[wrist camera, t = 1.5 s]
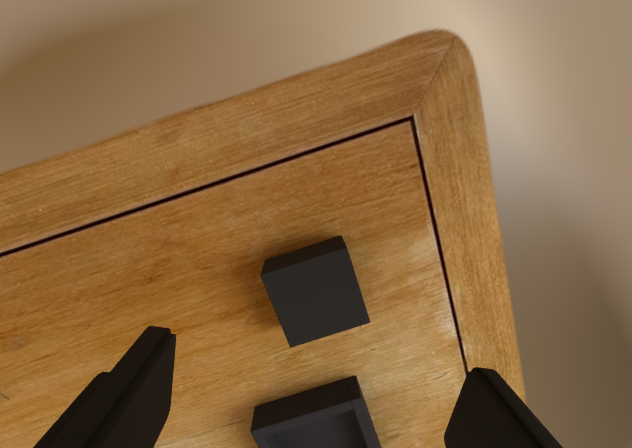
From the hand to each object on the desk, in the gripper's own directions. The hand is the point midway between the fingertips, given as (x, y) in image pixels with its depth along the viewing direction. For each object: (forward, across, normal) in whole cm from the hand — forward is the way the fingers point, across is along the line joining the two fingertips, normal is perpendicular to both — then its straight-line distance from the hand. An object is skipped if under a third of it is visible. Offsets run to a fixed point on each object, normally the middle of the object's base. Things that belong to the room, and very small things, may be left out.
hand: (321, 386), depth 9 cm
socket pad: (+13, -4, +17) cm, 22 cm away
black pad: (+13, -1, +3) cm, 13 cm away
